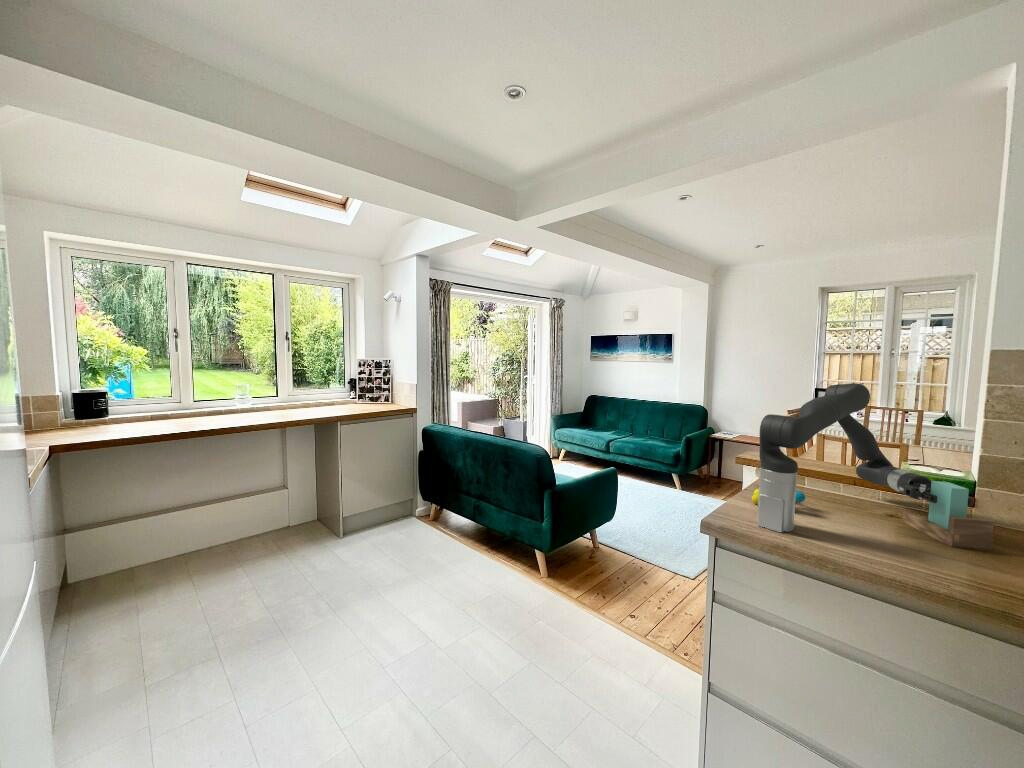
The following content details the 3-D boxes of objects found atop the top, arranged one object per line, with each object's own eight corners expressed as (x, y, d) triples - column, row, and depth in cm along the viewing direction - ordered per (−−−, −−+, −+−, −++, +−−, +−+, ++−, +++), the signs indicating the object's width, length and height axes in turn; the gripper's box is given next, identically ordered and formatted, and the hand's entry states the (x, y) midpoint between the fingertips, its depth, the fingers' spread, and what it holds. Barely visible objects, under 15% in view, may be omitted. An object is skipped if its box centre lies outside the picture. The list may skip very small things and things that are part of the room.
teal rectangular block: (964, 538, 114) (968, 489, 113) (947, 537, 115) (951, 488, 114) (943, 528, 121) (947, 481, 120) (927, 527, 122) (931, 480, 121)
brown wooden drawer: (991, 550, 109) (994, 521, 109) (951, 547, 111) (954, 518, 110) (935, 524, 127) (937, 498, 126) (901, 521, 129) (903, 496, 128)
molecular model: (760, 519, 137) (810, 505, 131) (747, 492, 138) (796, 477, 132) (754, 504, 151) (798, 492, 145) (742, 480, 152) (786, 466, 146)
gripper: (885, 470, 133) (925, 486, 117) (936, 473, 130) (985, 490, 114) (883, 493, 133) (923, 511, 117) (934, 497, 131) (982, 516, 115)
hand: (953, 501), depth 116 cm, fingers open, 8 cm apart
